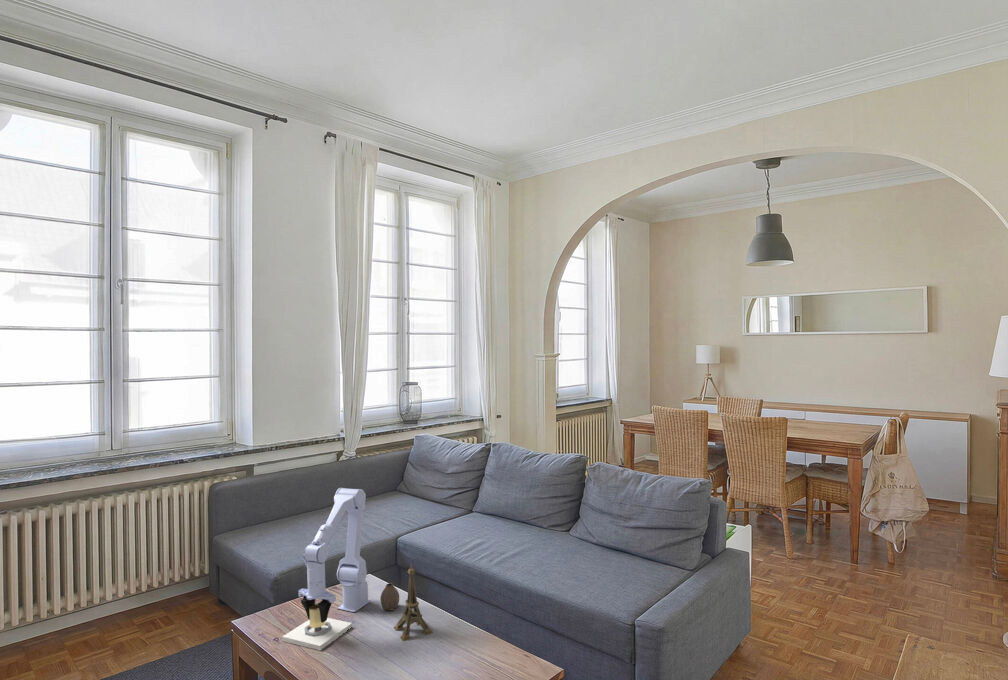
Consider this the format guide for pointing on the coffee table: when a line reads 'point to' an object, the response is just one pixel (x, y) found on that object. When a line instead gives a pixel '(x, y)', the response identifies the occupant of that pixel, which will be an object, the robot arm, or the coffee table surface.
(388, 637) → the coffee table surface
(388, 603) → the vase
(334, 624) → the post board
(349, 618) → the coffee table surface
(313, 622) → the collar
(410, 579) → the eiffel tower
